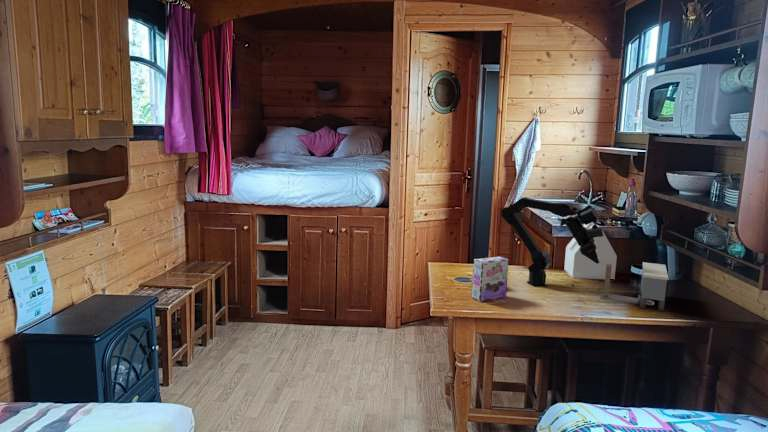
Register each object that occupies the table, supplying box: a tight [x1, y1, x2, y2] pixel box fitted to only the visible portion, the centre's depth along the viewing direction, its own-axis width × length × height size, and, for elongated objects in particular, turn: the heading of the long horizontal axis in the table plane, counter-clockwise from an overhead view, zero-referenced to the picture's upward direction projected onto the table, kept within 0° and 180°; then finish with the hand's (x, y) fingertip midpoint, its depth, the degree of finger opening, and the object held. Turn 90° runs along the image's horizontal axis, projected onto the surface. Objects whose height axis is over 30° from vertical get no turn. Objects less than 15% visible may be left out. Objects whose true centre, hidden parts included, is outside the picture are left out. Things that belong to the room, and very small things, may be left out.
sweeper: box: [599, 264, 642, 306], centre depth 215 cm, size 15×6×14 cm, turn 64°
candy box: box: [470, 256, 510, 302], centre depth 212 cm, size 14×6×16 cm, turn 117°
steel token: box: [646, 299, 655, 306], centre depth 211 cm, size 4×4×1 cm
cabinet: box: [639, 261, 669, 312], centre depth 213 cm, size 9×23×14 cm, turn 154°
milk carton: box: [563, 221, 618, 280], centre depth 251 cm, size 19×15×25 cm
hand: (597, 260), depth 221 cm, fingers open, 9 cm apart
